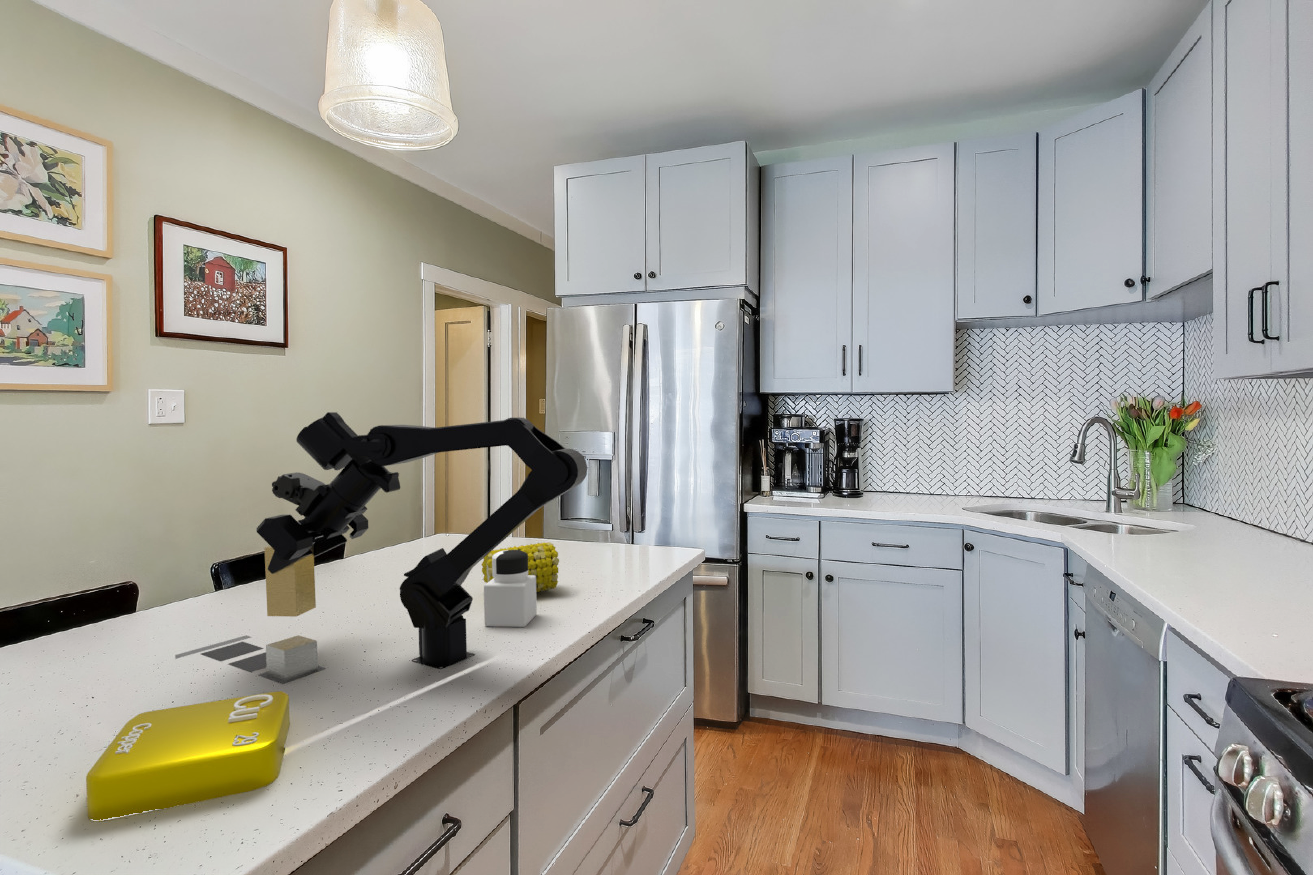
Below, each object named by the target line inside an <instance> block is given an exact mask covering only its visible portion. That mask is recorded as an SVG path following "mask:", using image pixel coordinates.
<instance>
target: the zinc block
mask: <svg viewBox="0 0 1313 875" xmlns="http://www.w3.org/2000/svg"><path fill="white" fill-rule="evenodd" d="M265 652H266V664H267V667H266V672H267V674H268V675H271V676H274V677H277V678H279V679H282V680H285V681H286V680H288V679H291V678H294V677H297V676H300V675H303V674H306V673H308V672H311V671H314V670H317V669H318V666H319V665H318V664H319V662H318V660H319V659H318V658H319V657H318V641H317V640H316V639H312V638H309V637H306V636H302V635H294V636H292V637H289V638H284V639H281V640H279V641H278V640H277V641H275V642H271V643H268V644H265Z"/></svg>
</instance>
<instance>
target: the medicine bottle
mask: <svg viewBox="0 0 1313 875" xmlns="http://www.w3.org/2000/svg"><path fill="white" fill-rule="evenodd" d="M492 576H493V577H494V578H493V579H492V580H491V581H489V582H488V583H486V582H485V584H484V585H483V606H484V607H483V609H484V610H483V612H484V616H483V617H484V626H485V627H496V628H497V627H505V628H508V627H509V628H511V627H512V628H525V627H526V626H527V625H528V624H530V622H531V621H533V619H534V617H535V616H536V615H537V614H538V609H537V608H538V607H537V605H538V604H537V591H536V576H535V575H528V554H527V553H526V552H523V551H521V550H504V551H500V552H497V553H496V554H494V555H493V556H492Z"/></svg>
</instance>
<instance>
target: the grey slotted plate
mask: <svg viewBox="0 0 1313 875" xmlns="http://www.w3.org/2000/svg"><path fill="white" fill-rule="evenodd" d="M251 638H252V636H250V635H246V634H245V635H243V636H239V637H235V638H232V639H231V638H230V639H228V640H224V641H220V642H217V643H214V644H210V645H207V646H204V647H199V648H195V649H192V650H189V651H185V652H181V653H177V654H174V656H175V657H174V658H175V659H180V658H184V657H188V656H190V655H194V654H197V653H200V655H202V656H205V657H207V658H210V659H212V660H216V661H218V662H224V661H226V660H230V659H233V658H238V657H241V656H244V655H247V654H250V653H254V652H257V651H260V650H263V649H264V647H261V646H257V645H254V644H252V643H249V642H246V641H243V640H247V639H251ZM240 641H241V642H240ZM232 643H233V644H232ZM215 648H216V649H215ZM212 649H213V650H212ZM228 665H230V666H232V667H235V668H237V669H240V670H243V671H246V672H249V673H252V672H255V671H259V670H262V669H265V668H267V664H266V651H265V652H262V653H259V654H255V655H251V656H249V657H246V658H241V659H239V660H236V661H233V662H230V663H228ZM326 669H327V668H326V667H322V666H320V665H318V669H317V670H314V671H311V672H308V673H306V674H303V675H300V676H297V677H294V678H291V679H288V680H286V681H285V680H282V679H279V678H277V677H274V676H271V675H268V674H267V671H266V672H262V673H259V674H258V676H259V677H262V678H265V679H268V680H271V681H274V682H276V683H278V684H280V685H281V684H282V685H284V684H287V683H290V682H292V681H295V680H299V679H302V678H305V677H307V676H309V675H312V674H315V673H318V672H321V671H324V670H326Z"/></svg>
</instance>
